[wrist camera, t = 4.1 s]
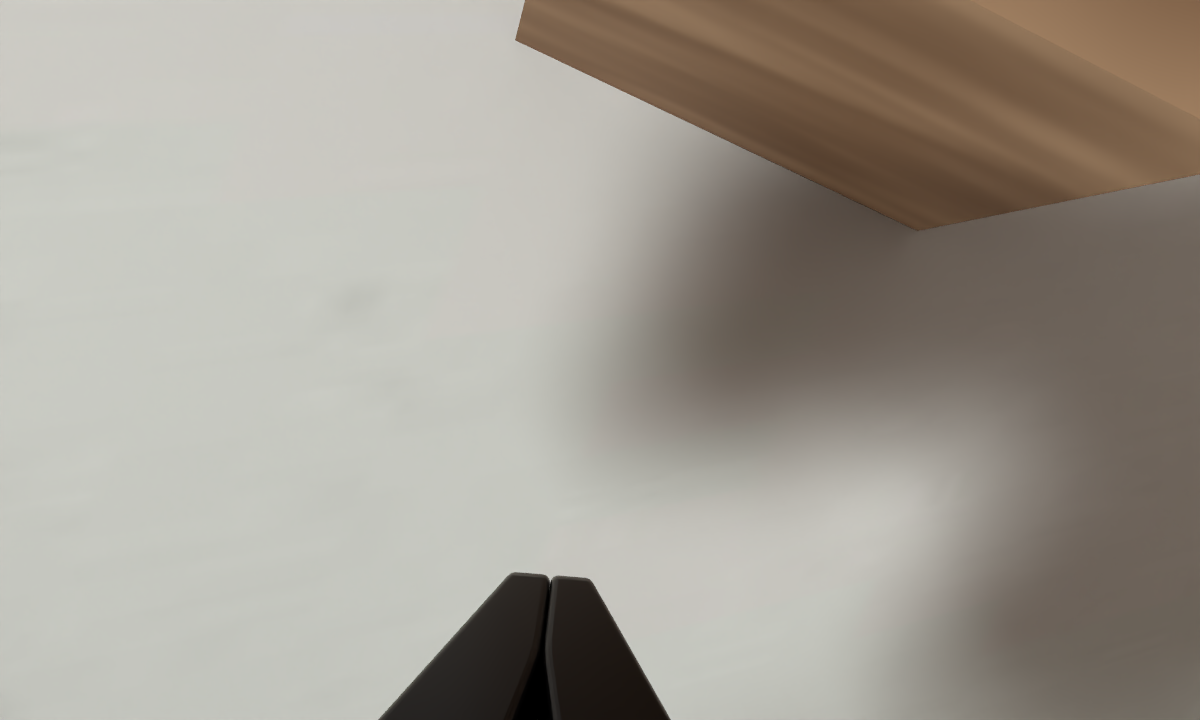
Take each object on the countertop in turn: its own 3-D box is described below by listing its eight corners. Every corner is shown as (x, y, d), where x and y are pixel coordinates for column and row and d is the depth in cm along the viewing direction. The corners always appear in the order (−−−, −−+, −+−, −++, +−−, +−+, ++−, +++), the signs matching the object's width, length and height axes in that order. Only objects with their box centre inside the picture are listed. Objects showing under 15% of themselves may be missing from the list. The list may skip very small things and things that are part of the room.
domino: (917, 230, 23) (1277, 158, 13) (515, 40, 21) (576, -203, 12) (945, 164, 23) (1324, 42, 13) (545, -30, 22) (632, -334, 12)
